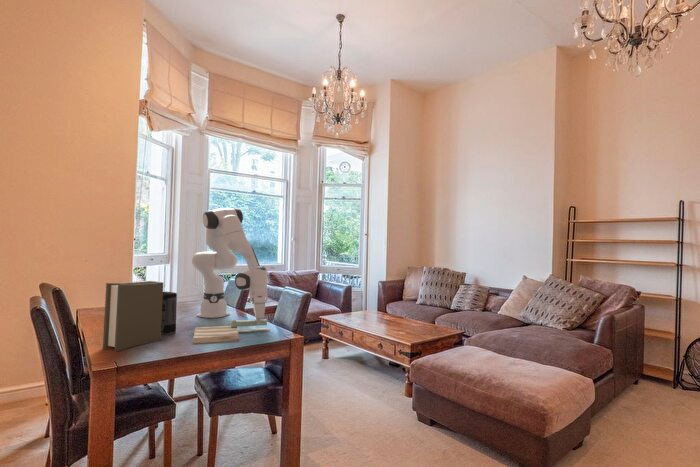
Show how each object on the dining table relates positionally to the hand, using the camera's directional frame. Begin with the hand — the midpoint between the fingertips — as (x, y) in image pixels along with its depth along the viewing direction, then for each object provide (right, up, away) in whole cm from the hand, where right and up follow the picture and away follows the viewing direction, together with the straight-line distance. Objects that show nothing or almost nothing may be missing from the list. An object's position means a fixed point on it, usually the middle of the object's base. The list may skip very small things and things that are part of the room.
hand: (258, 323), depth 197 cm
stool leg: (-5, -1, +1) cm, 5 cm away
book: (-49, -3, -27) cm, 56 cm away
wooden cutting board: (-10, -4, -9) cm, 14 cm away
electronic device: (-45, -3, -7) cm, 45 cm away
